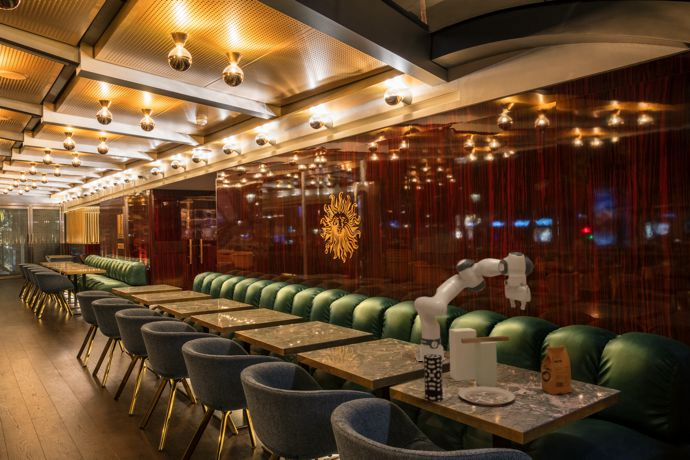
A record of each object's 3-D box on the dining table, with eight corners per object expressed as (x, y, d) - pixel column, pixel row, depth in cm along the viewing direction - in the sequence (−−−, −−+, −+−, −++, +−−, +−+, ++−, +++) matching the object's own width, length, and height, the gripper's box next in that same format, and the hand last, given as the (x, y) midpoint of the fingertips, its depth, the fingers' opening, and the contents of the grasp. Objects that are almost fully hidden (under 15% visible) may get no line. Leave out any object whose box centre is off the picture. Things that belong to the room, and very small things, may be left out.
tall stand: (450, 376, 269) (449, 329, 269) (471, 375, 271) (469, 327, 272) (456, 381, 261) (455, 331, 261) (477, 379, 263) (476, 330, 264)
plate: (447, 394, 239) (447, 390, 239) (491, 388, 248) (491, 384, 248) (479, 411, 215) (479, 406, 215) (527, 403, 224) (527, 398, 224)
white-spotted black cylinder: (421, 397, 234) (420, 355, 235) (436, 395, 238) (434, 353, 238) (431, 402, 227) (430, 359, 227) (446, 400, 230) (445, 357, 231)
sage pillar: (475, 383, 256) (474, 340, 257) (489, 381, 258) (488, 339, 258) (482, 387, 249) (481, 343, 249) (497, 386, 250) (496, 342, 251)
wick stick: (461, 342, 253) (461, 338, 253) (506, 339, 257) (506, 335, 257) (463, 343, 250) (463, 339, 250) (508, 340, 255) (508, 336, 255)
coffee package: (538, 389, 243) (537, 344, 243) (560, 387, 246) (558, 343, 246) (552, 395, 233) (550, 349, 234) (574, 393, 236) (572, 347, 237)
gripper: (533, 283, 256) (534, 310, 256) (513, 280, 276) (513, 305, 276) (522, 284, 255) (522, 311, 254) (502, 281, 275) (503, 306, 274)
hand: (517, 308), depth 265 cm, fingers open, 8 cm apart
